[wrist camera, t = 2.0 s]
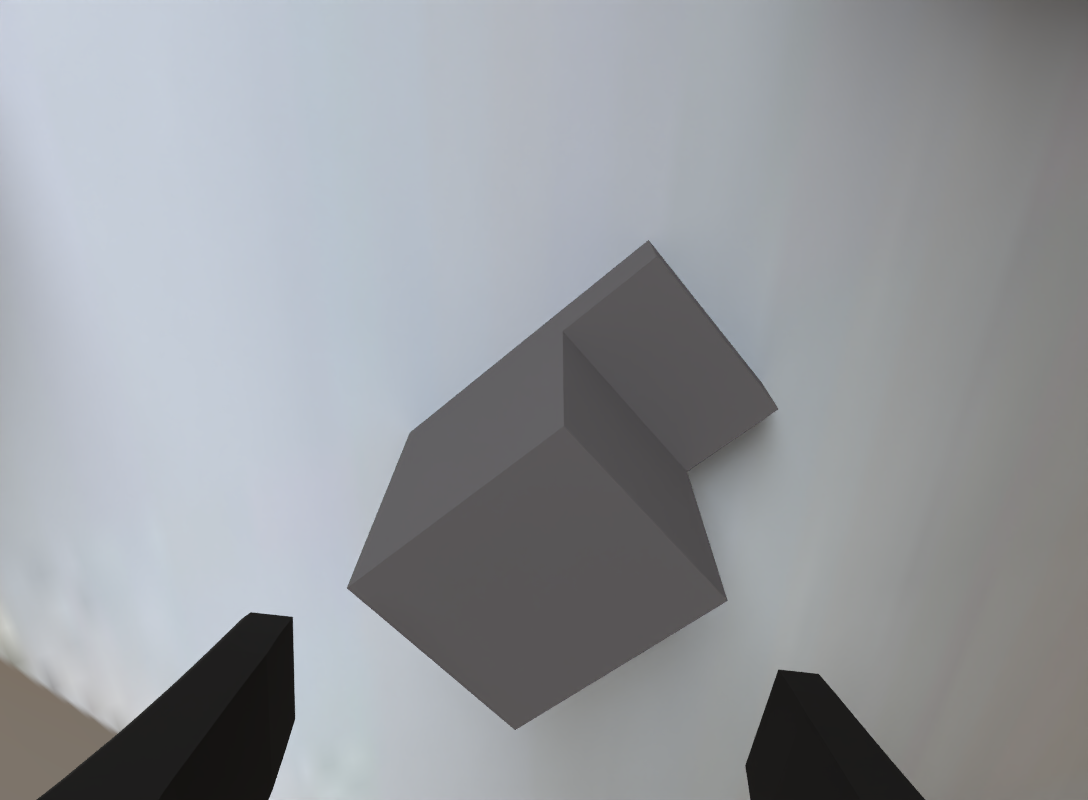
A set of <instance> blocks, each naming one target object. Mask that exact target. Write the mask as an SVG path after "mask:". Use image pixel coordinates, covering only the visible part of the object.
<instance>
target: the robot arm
mask: <svg viewBox="0 0 1088 800" xmlns="http://www.w3.org/2000/svg"><path fill="white" fill-rule="evenodd" d="M294 721H295V695H294V652H293V617H288V616H279V615H270V614H260V613H249V614H248V615H246V616H245V617H244V618H242V619H241V620H240V621H239V622H238V623H237V624H236V625H235V626H234V627H233V628H232V629H231V630H230V631H229V632H228V633H227V634H226V635H225V636H224V637H223V638H222V639H221V640H220V641H219V642H218V643H217V644H216V645H215V646H214V647H212V648H211V649H210V650H209V651H208V652H207V653H206V654H205V655H204V656H203V657H202V658H201V659H200V660H199V661H198V662H197V663H196V664H195V665H194V666H193V667H191V668H190V669H189V670H188V671H187V672H186V673H185V674H184V675H183V676H182V677H181V678H180V679H179V680H178V681H177V682H175V683H174V684H173V685H172V686H171V687H170V688H169V689H168V690H167V691H165V692H164V693H163V694H162V695H161V696H160V697H159V698H158V699H157V700H155V701H154V702H153V703H152V704H151V705H150V706H149V707H148V708H147V709H145V710H144V711H143V712H142V713H141V714H140V715H139V716H138V717H136V718H135V719H134V720H133V721H132V722H131V723H130V724H129V725H127V726H126V727H125V728H124V729H123V730H122V731H121V732H119V733H118V734H117V735H116V736H115V737H114V738H112V739H111V740H110V741H109V742H107V743H106V744H105V745H104V746H103V747H101V748H100V749H99V750H98V751H96V752H95V753H94V754H93V755H92V756H90V757H89V758H88V759H87V760H86V761H84V762H83V763H82V764H81V765H79V766H78V767H77V768H76V769H75V770H73V771H72V772H71V773H70V774H69V775H67V776H66V777H65V778H64V779H63V780H61V781H60V782H59V783H57V784H56V785H55V786H54V787H52V788H51V789H50V790H49V791H47V792H46V793H45V794H43V795H42V796H41V797H39V798H38V799H37V800H268V799H269V797H270V795H271V792H272V790H273V787H274V784H275V781H276V778H277V775H278V772H279V768H280V765H281V762H282V759H283V756H284V753H285V750H286V747H287V743H288V740H289V737H290V734H291V730H292V727H293V724H294ZM745 766H746V772H747V779H748V786H749V793H750V799H751V800H925V799H924V798H923V797H922V796H921V794H920V793H919V792H918V791H917V790H916V789H915V787H914V786H913V785H912V784H911V783H910V782H909V781H908V779H907V778H906V777H905V776H904V775H903V774H902V772H901V771H900V770H899V769H898V768H897V767H896V765H895V764H894V763H893V762H892V761H891V760H890V758H889V757H888V756H887V755H886V754H885V752H884V751H883V750H882V749H881V748H880V746H879V745H878V744H877V743H876V742H875V741H874V739H873V738H872V737H871V736H870V735H869V733H868V732H867V731H866V730H865V729H864V727H863V726H862V725H861V724H860V723H859V721H858V720H857V719H856V718H855V717H854V715H853V714H852V713H851V712H850V710H849V709H848V708H847V707H846V706H845V704H844V703H843V702H842V701H841V700H840V698H839V697H838V696H837V695H836V694H835V692H834V691H833V690H832V689H831V688H830V687H829V685H828V684H827V683H826V682H825V681H824V680H823V678H822V677H821V676H820V675H819V674H814V673H804V672H795V671H786V670H778V673H777V675H776V678H775V681H774V684H773V687H772V690H771V693H770V696H769V699H768V702H767V704H766V707H765V710H764V713H763V716H762V719H761V722H760V725H759V728H758V731H757V734H756V736H755V739H754V742H753V745H752V748H751V751H750V754H749V757H748V760H747V763H746V765H745Z"/></svg>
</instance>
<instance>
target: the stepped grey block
mask: <svg viewBox="0 0 1088 800" xmlns="http://www.w3.org/2000/svg"><path fill="white" fill-rule="evenodd" d="M776 410H778V408H777V406H776V405H775V403H774V401H773V400H772V398H771V397H770V395H769V394H768V392H767V390H766V389H765V387H764V386H763V384H762V383H761V381H760V380H759V379H758V377H757V376H756V375H755V374H754V372H753V371H752V370H751V369H750V367H749V366H748V365H747V364H746V362H745V361H744V360H743V359H742V357H741V356H740V355H739V354H738V352H737V351H736V350H735V348H734V347H733V346H732V345H731V343H730V342H729V341H728V340H727V338H726V337H725V336H724V335H723V333H722V332H721V331H720V330H719V328H718V327H717V326H716V325H715V323H714V322H713V321H712V319H711V318H710V317H709V316H708V314H707V313H706V312H705V311H704V309H703V308H702V307H701V306H700V304H699V303H698V302H697V301H696V299H695V298H694V297H693V296H692V294H691V293H690V292H689V290H688V289H687V288H686V287H685V285H684V284H683V283H682V282H681V280H680V279H679V278H678V277H677V275H676V274H675V273H674V272H673V270H672V269H671V268H670V267H669V265H668V264H667V263H666V261H665V260H664V259H663V258H662V256H661V255H660V254H659V253H658V251H657V250H656V249H655V248H654V246H653V245H652V244H651V243H650V241H649V240H648V241H647V242H646V243H644V244H643V245H642V246H641V247H639V248H638V249H637V250H636V251H635V252H633V253H632V254H631V255H630V256H628V257H627V258H626V259H625V260H623V261H622V262H621V263H620V264H618V265H617V266H616V267H615V268H613V269H612V270H611V271H610V272H609V273H607V274H606V275H605V276H604V277H602V278H601V279H600V280H599V281H597V282H596V283H595V284H594V285H592V286H591V287H590V288H589V289H587V290H586V291H585V292H584V293H582V294H581V295H580V296H579V297H578V298H576V299H575V300H574V301H573V302H571V303H570V304H569V305H568V306H566V307H565V308H564V309H563V310H561V311H560V312H559V313H558V314H556V315H555V316H554V317H553V318H552V319H550V320H549V321H548V322H547V323H545V324H544V325H543V326H542V327H540V328H539V329H538V330H537V331H535V332H534V333H533V334H532V335H530V336H529V337H528V338H527V339H525V340H524V341H523V342H522V343H521V344H519V345H518V346H517V347H516V348H514V349H513V350H512V351H511V352H509V353H508V354H507V355H506V356H504V357H503V358H502V359H501V360H499V361H498V362H497V363H496V364H495V365H493V366H492V367H491V368H490V369H488V370H487V371H486V372H485V373H483V374H482V375H481V376H480V377H478V378H477V379H476V380H475V381H473V382H472V383H471V384H470V385H468V386H467V387H466V388H465V389H464V390H462V391H461V392H460V393H459V394H457V395H456V396H455V397H454V398H452V399H451V400H450V401H449V402H447V403H446V404H445V405H444V406H442V407H441V408H440V409H439V410H438V411H436V412H435V413H434V414H433V415H431V416H430V417H429V418H428V419H426V420H425V421H424V422H423V423H421V424H420V425H419V426H418V427H416V428H415V429H414V430H413V431H411V432H410V434H409V436H408V439H407V441H406V444H405V446H404V448H403V451H402V453H401V456H400V458H399V461H398V463H397V466H396V468H395V471H394V473H393V476H392V478H391V481H390V483H389V485H388V488H387V490H386V493H385V495H384V498H383V500H382V503H381V505H380V508H379V510H378V513H377V515H376V518H375V520H374V523H373V525H372V527H371V530H370V532H369V535H368V537H367V540H366V542H365V545H364V547H363V550H362V552H361V555H360V557H359V560H358V562H357V564H356V567H355V569H354V572H353V574H352V577H351V579H350V582H349V584H348V587H347V589H349V590H350V591H351V592H352V593H353V594H355V595H356V596H357V597H358V598H359V599H360V600H362V601H363V602H364V603H365V604H366V605H368V606H369V607H370V608H371V609H372V610H373V611H375V612H376V613H377V614H378V615H379V616H381V617H382V618H383V619H384V620H385V621H387V622H388V623H389V624H390V625H391V626H392V627H394V628H395V629H396V630H397V631H398V632H400V633H401V634H402V635H403V636H404V637H406V638H407V639H408V640H409V641H410V642H411V643H413V644H414V645H415V646H416V647H417V648H419V649H420V650H421V651H422V652H423V653H424V654H426V655H427V656H428V657H429V658H430V659H432V660H433V661H434V662H435V663H436V664H438V665H439V666H440V667H441V668H442V669H443V670H445V671H446V672H447V673H448V674H449V675H451V676H452V677H453V678H454V679H455V680H456V681H458V682H459V683H460V684H461V685H462V686H464V687H465V688H466V689H467V690H468V691H470V692H471V693H472V694H473V695H474V696H475V697H477V698H478V699H479V700H480V701H481V702H483V703H484V704H485V705H486V706H487V707H489V708H490V709H491V710H492V711H493V712H494V713H496V714H497V715H498V716H499V717H500V718H502V719H503V720H504V721H505V722H506V723H507V724H509V725H510V726H511V727H512V728H513V729H515V730H516V729H517V728H519V727H521V726H522V725H524V724H526V723H527V722H529V721H531V720H532V719H534V718H536V717H537V716H539V715H540V714H542V713H544V712H545V711H547V710H549V709H550V708H552V707H554V706H555V705H557V704H559V703H560V702H562V701H563V700H565V699H567V698H568V697H570V696H572V695H573V694H575V693H577V692H578V691H580V690H582V689H583V688H585V687H586V686H588V685H590V684H591V683H593V682H595V681H596V680H598V679H600V678H601V677H603V676H605V675H606V674H608V673H609V672H611V671H613V670H614V669H616V668H618V667H619V666H621V665H623V664H624V663H626V662H628V661H629V660H631V659H632V658H634V657H636V656H637V655H639V654H641V653H642V652H644V651H646V650H647V649H649V648H651V647H652V646H654V645H655V644H657V643H659V642H660V641H662V640H664V639H665V638H667V637H669V636H670V635H672V634H674V633H675V632H677V631H678V630H680V629H682V628H683V627H685V626H687V625H688V624H690V623H692V622H693V621H695V620H697V619H698V618H700V617H701V616H703V615H705V614H706V613H708V612H710V611H711V610H713V609H715V608H716V607H718V606H720V605H721V604H723V603H724V602H726V601H727V598H726V595H725V591H724V588H723V585H722V582H721V579H720V575H719V572H718V569H717V566H716V563H715V560H714V556H713V553H712V550H711V547H710V544H709V540H708V537H707V534H706V531H705V528H704V525H703V521H702V518H701V515H700V512H699V509H698V505H697V502H696V499H695V496H694V493H693V490H692V486H691V483H690V480H689V477H688V474H687V471H688V470H690V469H691V468H693V467H694V466H696V465H697V464H699V463H700V462H702V461H703V460H704V459H706V458H707V457H709V456H710V455H712V454H713V453H715V452H716V451H718V450H719V449H721V448H722V447H724V446H725V445H726V444H728V443H729V442H731V441H732V440H734V439H735V438H737V437H738V436H740V435H741V434H743V433H744V432H746V431H747V430H748V429H750V428H751V427H753V426H754V425H756V424H757V423H759V422H760V421H762V420H763V419H765V418H766V417H768V416H769V415H770V414H772V413H773V412H775V411H776Z"/></svg>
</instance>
